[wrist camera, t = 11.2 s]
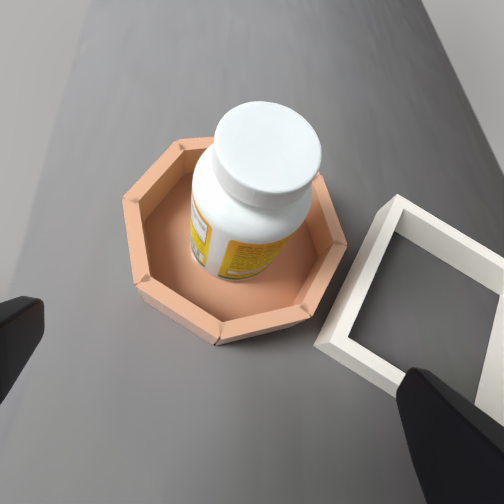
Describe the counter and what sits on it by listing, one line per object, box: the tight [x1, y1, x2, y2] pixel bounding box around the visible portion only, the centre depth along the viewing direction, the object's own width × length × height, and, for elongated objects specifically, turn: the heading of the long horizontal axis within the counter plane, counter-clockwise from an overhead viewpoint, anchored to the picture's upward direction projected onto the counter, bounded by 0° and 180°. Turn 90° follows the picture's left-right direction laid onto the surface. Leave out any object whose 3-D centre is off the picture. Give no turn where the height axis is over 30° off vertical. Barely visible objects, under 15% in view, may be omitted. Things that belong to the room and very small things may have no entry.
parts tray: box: [313, 194, 504, 427], centre depth 21 cm, size 12×12×2 cm
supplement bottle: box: [190, 101, 322, 281], centre depth 16 cm, size 5×5×10 cm
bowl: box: [122, 137, 347, 346], centre depth 20 cm, size 12×12×4 cm
